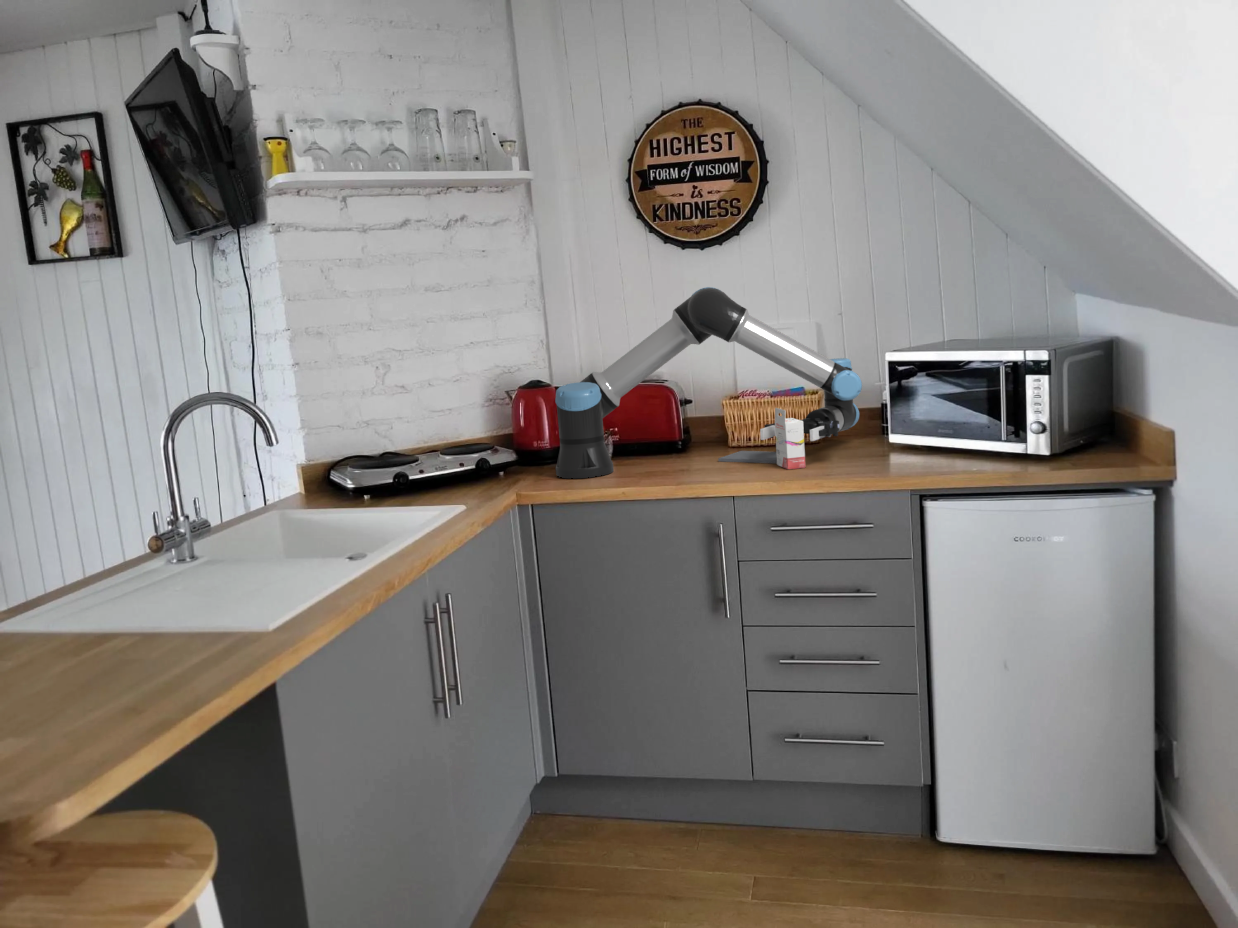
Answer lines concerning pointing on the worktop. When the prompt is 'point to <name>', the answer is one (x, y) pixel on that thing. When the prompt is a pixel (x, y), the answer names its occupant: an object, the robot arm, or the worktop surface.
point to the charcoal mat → (751, 457)
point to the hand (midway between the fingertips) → (786, 435)
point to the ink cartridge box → (789, 441)
